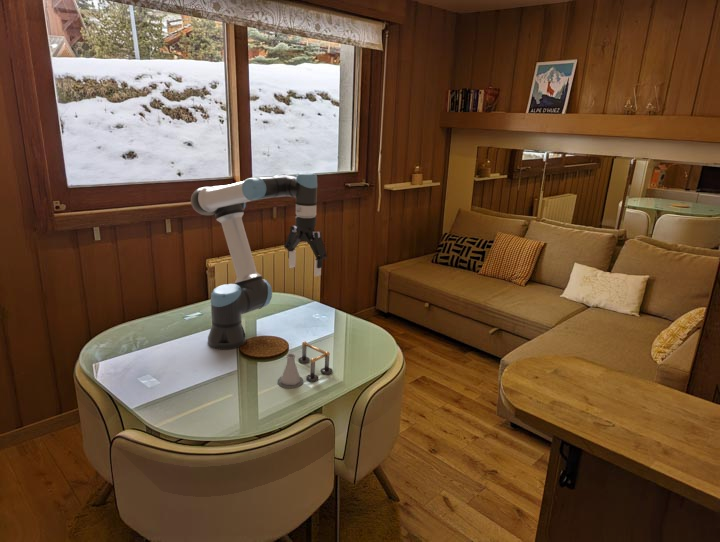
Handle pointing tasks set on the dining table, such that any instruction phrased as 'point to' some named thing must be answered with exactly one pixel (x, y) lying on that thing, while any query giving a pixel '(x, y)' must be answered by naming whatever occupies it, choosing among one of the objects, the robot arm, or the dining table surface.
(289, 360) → the flask
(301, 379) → the pad
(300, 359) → the wire rail
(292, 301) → the dining table surface
